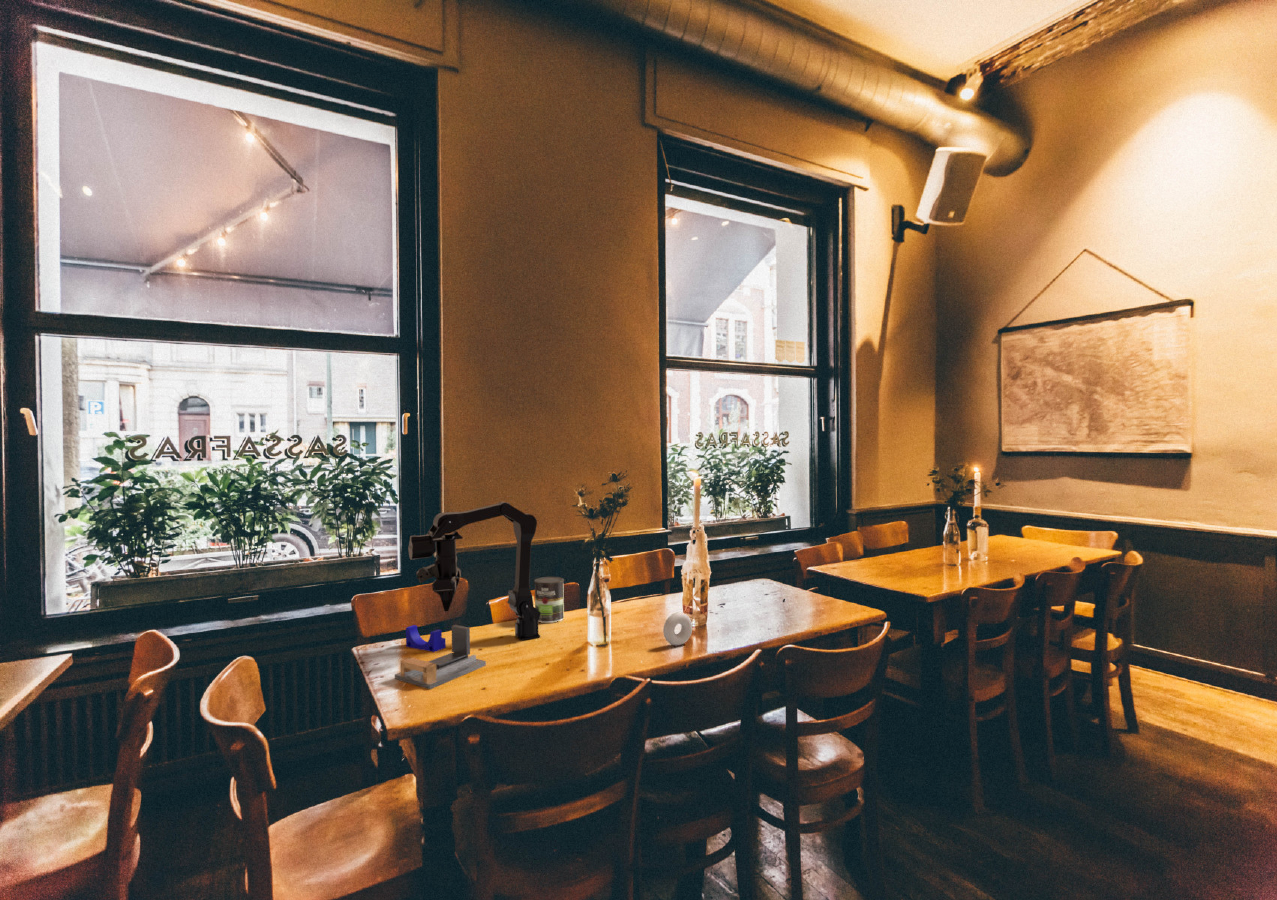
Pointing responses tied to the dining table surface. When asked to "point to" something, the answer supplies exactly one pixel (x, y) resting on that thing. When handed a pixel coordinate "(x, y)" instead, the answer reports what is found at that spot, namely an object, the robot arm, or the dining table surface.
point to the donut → (670, 626)
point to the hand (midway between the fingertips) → (448, 607)
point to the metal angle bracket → (456, 647)
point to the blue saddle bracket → (417, 642)
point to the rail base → (435, 671)
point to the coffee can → (549, 599)
